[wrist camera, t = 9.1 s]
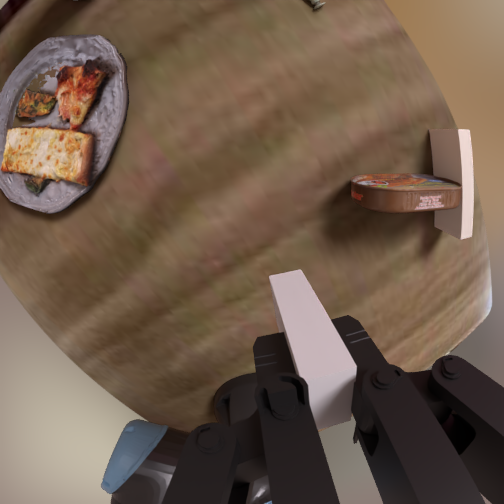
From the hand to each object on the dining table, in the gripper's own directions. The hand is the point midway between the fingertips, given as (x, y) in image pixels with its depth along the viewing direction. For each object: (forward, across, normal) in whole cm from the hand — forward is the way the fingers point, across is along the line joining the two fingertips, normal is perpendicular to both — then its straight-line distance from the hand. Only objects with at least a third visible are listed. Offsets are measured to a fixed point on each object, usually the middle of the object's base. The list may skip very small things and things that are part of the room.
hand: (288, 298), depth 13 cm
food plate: (+20, +23, -19) cm, 36 cm away
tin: (+19, -18, -1) cm, 26 cm away
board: (+19, -27, -1) cm, 33 cm away
